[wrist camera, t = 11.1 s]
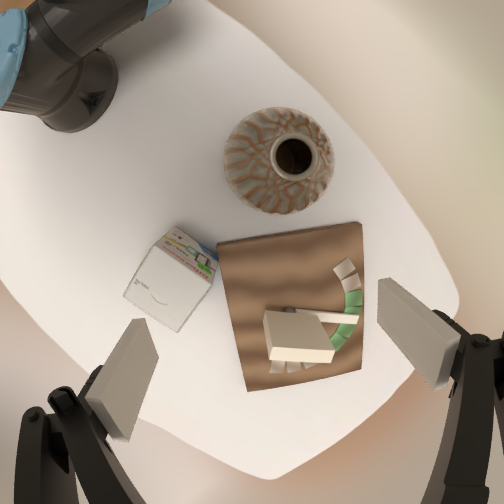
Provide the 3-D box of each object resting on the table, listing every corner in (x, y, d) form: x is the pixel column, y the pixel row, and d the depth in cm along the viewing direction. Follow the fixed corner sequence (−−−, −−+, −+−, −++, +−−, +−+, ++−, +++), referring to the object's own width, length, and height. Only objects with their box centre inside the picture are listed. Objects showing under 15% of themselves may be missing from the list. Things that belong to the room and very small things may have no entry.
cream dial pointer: (261, 315, 44) (269, 359, 33) (264, 303, 43) (272, 346, 32) (354, 323, 45) (382, 363, 34) (358, 313, 45) (387, 351, 34)
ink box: (220, 257, 44) (214, 286, 33) (190, 297, 45) (177, 336, 34) (174, 224, 42) (152, 243, 31) (146, 267, 44) (120, 297, 33)
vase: (270, 225, 43) (291, 260, 26) (207, 162, 40) (185, 155, 23) (332, 166, 41) (389, 165, 24) (272, 102, 38) (294, 59, 21)
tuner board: (217, 243, 43) (216, 247, 41) (357, 221, 43) (362, 224, 41) (247, 385, 51) (247, 392, 49) (357, 363, 51) (361, 369, 49)
